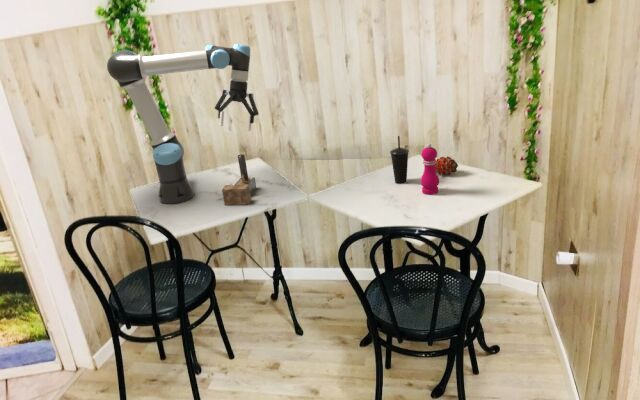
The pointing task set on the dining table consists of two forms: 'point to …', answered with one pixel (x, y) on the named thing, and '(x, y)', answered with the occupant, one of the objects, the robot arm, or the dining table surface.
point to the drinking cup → (400, 163)
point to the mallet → (243, 170)
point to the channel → (250, 185)
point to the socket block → (236, 194)
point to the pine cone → (445, 166)
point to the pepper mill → (429, 171)
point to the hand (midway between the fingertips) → (235, 128)
